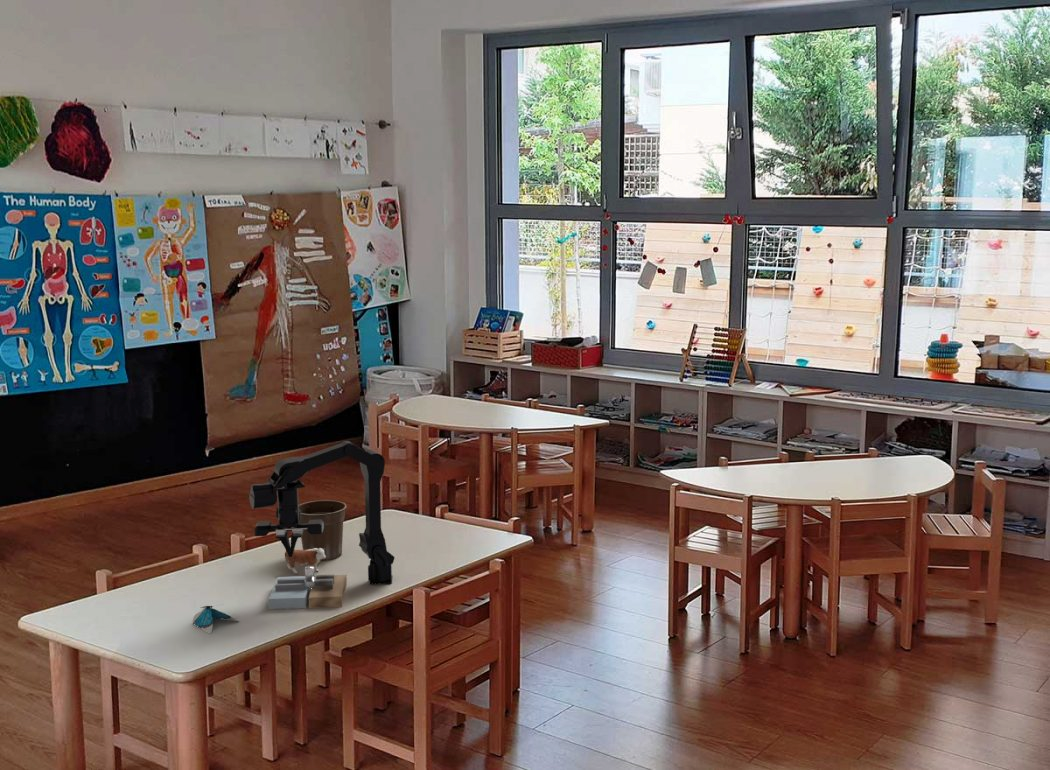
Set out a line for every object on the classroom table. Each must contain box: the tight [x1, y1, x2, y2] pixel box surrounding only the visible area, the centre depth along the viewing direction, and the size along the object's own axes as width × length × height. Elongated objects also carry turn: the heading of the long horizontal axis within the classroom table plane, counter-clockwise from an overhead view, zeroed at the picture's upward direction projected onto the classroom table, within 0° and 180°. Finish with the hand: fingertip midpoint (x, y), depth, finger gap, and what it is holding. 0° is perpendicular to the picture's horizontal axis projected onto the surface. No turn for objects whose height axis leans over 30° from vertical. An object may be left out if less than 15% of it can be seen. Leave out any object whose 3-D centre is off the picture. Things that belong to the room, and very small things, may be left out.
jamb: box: [308, 574, 348, 609], centre depth 310 cm, size 9×18×5 cm, turn 5°
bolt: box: [304, 565, 333, 587], centre depth 309 cm, size 8×2×6 cm, turn 95°
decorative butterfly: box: [192, 604, 240, 634], centre depth 290 cm, size 10×6×10 cm
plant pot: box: [299, 499, 347, 562], centre depth 345 cm, size 16×16×16 cm
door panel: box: [267, 575, 312, 610], centre depth 309 cm, size 10×18×5 cm, turn 5°
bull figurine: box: [284, 548, 326, 574], centre depth 330 cm, size 4×13×8 cm, turn 79°
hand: (290, 556), depth 309 cm, fingers closed
